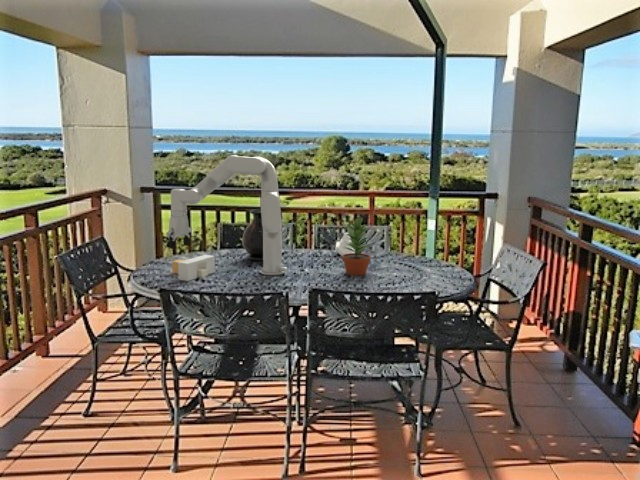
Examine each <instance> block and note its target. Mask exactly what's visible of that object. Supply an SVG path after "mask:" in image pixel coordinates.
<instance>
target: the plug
mask: <svg viewBox="0 0 640 480" xmlns="http://www.w3.org/2000/svg"><path fill="white" fill-rule="evenodd" d="M185 260H186V259H181V258H180V259H176V260H172V261H171V266H172V267H171V269H172V273H173V274H177V275H179V273H178V262H181V261H185ZM196 268H197V278H205V277H207V276H208V275H207V269H202V268H198V267H196Z"/></svg>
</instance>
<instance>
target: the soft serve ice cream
mask: <svg viewBox="0 0 640 480" xmlns="http://www.w3.org/2000/svg"><path fill="white" fill-rule="evenodd" d="M348 232H349V231H348ZM348 232H344V233H343V236H342V237H341V239H340V241H336V243H335V249H334V250H335V251H336V252H337V253H338V254H339V255H340V256H341V257H343V255H344V254H350V253H355V252H354V251H355V249H353V248H352V247H351V246H349V245H347V244H349V243H350V242H352V240H350V239H351V238H350V236H348V235H347V234H349V233H348ZM349 238H350V239H349ZM345 243H347V244H345ZM343 247H347V248H350V249H353V250H354V251H351V250H348V249H346V248H343Z"/></svg>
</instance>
